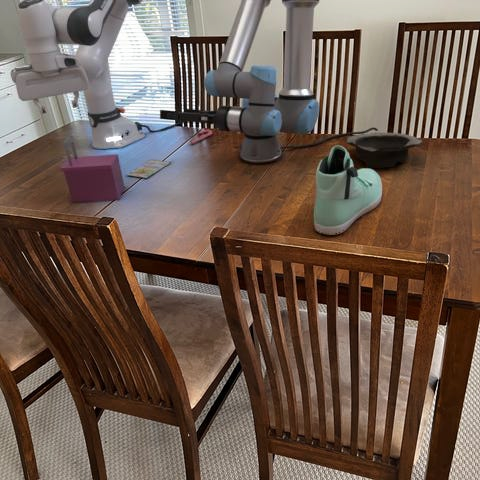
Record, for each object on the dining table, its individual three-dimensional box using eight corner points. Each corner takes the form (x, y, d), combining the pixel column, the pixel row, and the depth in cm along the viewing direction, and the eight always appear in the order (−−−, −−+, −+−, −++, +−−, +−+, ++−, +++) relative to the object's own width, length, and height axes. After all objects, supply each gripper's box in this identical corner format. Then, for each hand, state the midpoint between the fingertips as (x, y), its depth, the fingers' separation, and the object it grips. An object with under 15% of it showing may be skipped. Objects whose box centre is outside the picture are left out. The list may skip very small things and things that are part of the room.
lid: (61, 171, 150) (53, 144, 145) (70, 160, 158) (62, 134, 153) (111, 168, 149) (105, 141, 144) (118, 157, 157) (112, 131, 152)
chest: (72, 202, 155) (63, 171, 150) (80, 190, 163) (72, 160, 158) (118, 199, 155) (111, 168, 149) (124, 187, 162) (118, 157, 157)
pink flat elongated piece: (182, 143, 196) (181, 139, 196) (204, 131, 207) (204, 128, 206) (193, 145, 193) (192, 141, 193) (215, 133, 203) (215, 130, 203)
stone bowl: (379, 179, 153) (379, 151, 149) (331, 161, 173) (330, 135, 169) (436, 160, 162) (438, 133, 158) (384, 144, 182) (385, 120, 178)
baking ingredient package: (126, 174, 170) (150, 159, 182) (126, 175, 171) (151, 160, 182) (146, 177, 167) (170, 162, 178) (146, 178, 167) (170, 163, 179)
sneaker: (389, 187, 148) (396, 123, 138) (356, 242, 123) (361, 168, 112) (346, 181, 154) (350, 119, 144) (306, 232, 129) (307, 161, 118)
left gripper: (9, 69, 131) (24, 119, 138) (84, 58, 138) (95, 106, 145) (7, 66, 136) (22, 114, 143) (80, 55, 143) (90, 101, 150)
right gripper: (210, 134, 136) (149, 127, 145) (248, 129, 158) (193, 123, 166) (211, 107, 134) (149, 102, 143) (249, 105, 155) (193, 101, 164)
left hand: (59, 110), depth 144 cm, fingers open, 8 cm apart
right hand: (172, 113), depth 155 cm, fingers open, 13 cm apart
